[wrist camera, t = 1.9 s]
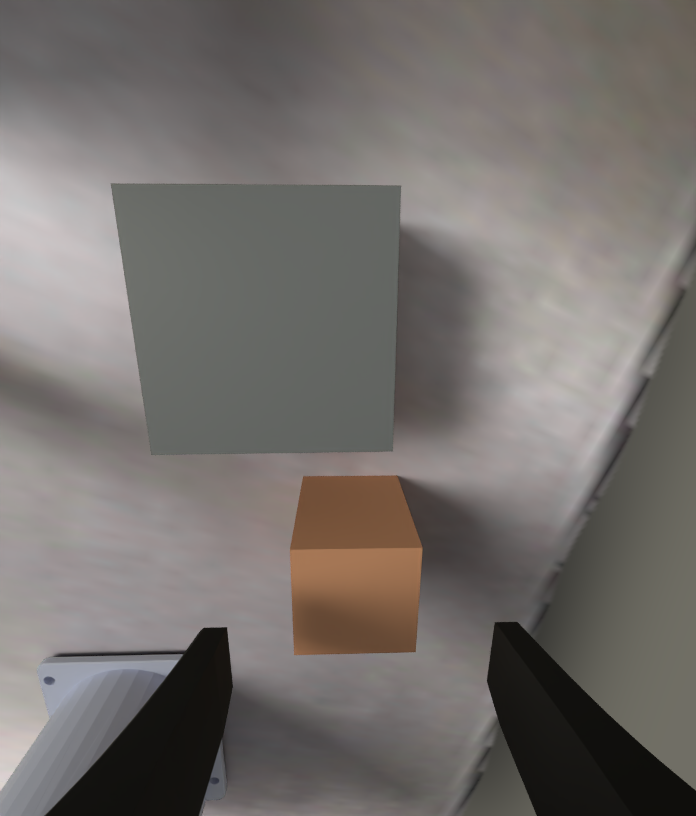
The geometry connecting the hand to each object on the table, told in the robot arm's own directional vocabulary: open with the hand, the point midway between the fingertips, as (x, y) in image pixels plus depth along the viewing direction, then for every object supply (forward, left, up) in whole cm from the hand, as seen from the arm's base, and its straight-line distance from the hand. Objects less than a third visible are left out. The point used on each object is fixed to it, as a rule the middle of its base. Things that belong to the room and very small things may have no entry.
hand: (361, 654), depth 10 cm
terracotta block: (0, 0, -7) cm, 7 cm away
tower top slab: (+8, +3, -5) cm, 10 cm away
